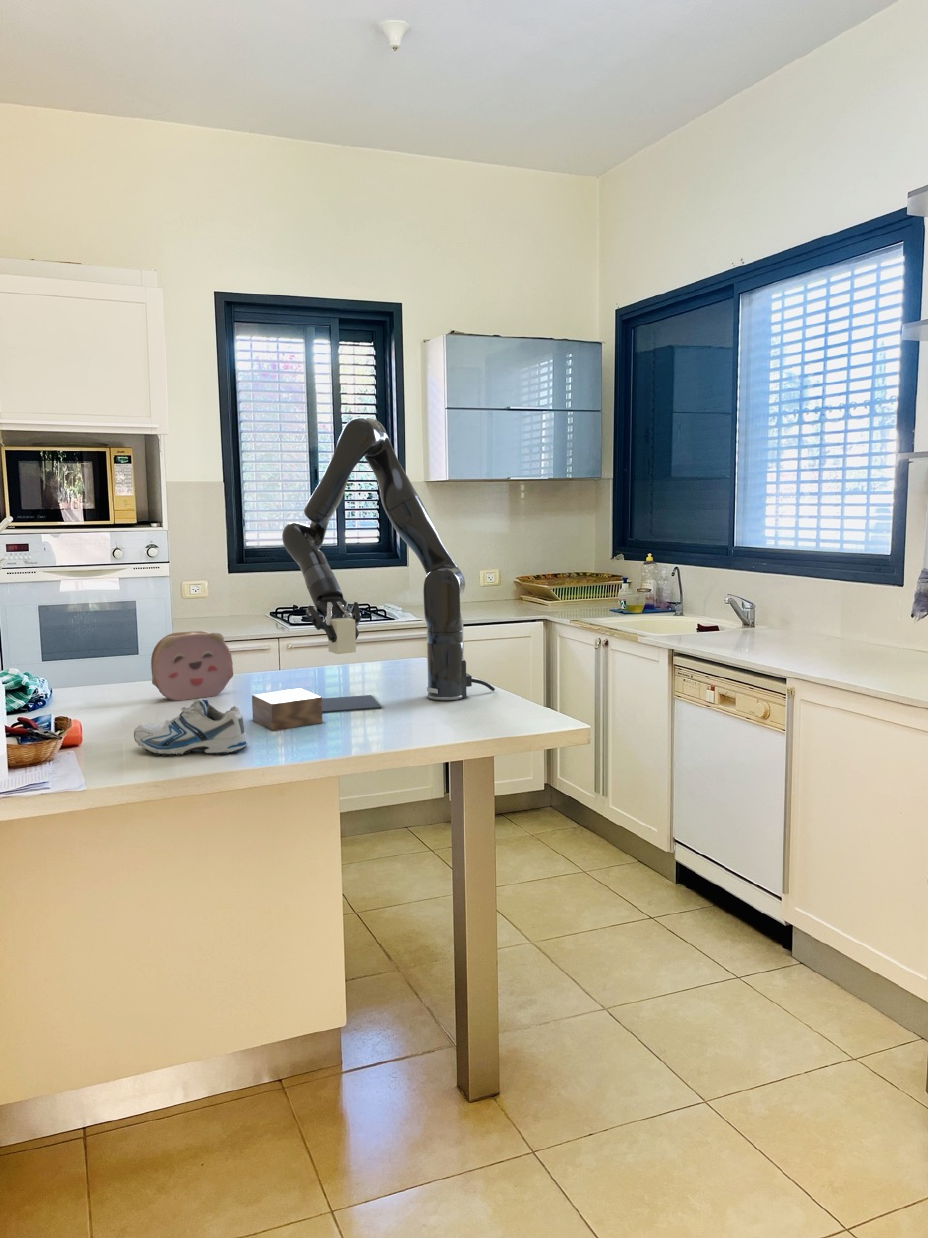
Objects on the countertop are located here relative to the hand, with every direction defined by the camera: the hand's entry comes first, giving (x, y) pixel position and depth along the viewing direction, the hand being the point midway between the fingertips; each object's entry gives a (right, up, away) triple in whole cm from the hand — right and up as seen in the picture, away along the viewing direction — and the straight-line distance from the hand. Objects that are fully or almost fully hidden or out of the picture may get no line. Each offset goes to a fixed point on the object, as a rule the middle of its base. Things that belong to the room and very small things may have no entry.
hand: (345, 639), depth 226 cm
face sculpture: (-41, -15, +15) cm, 47 cm away
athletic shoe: (-27, -22, -36) cm, 50 cm away
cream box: (-1, -3, +2) cm, 4 cm away
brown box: (-12, -19, -13) cm, 25 cm away
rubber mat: (-1, -16, +4) cm, 17 cm away
